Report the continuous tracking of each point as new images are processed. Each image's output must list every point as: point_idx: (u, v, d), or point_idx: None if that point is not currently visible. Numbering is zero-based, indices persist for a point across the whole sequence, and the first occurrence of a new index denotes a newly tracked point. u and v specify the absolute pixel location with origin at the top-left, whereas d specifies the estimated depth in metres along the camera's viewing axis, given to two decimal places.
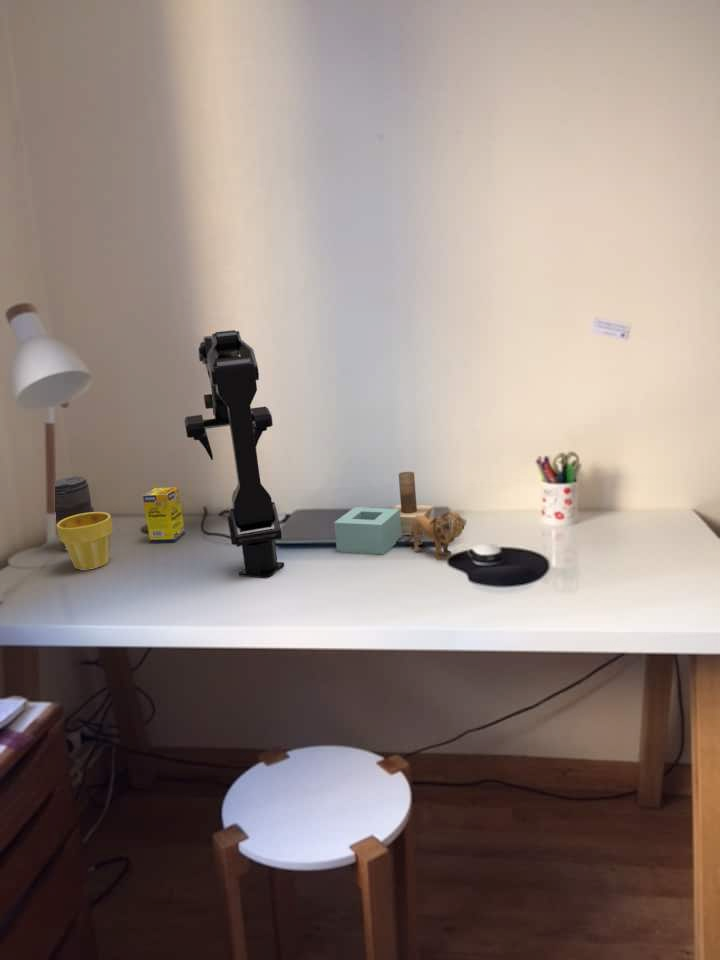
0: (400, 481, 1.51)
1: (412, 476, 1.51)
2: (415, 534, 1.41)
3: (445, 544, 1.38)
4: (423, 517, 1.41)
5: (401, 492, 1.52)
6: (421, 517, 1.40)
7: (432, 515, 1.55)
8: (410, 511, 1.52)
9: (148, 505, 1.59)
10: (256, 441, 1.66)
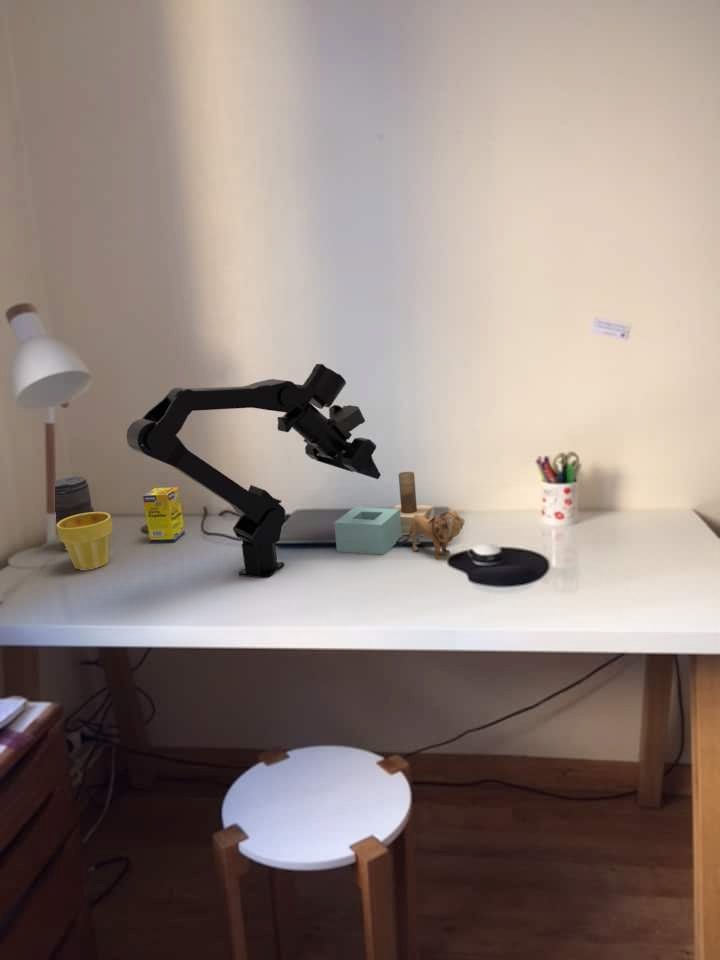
0: (400, 481, 1.51)
1: (412, 476, 1.51)
2: (413, 534, 1.41)
3: (443, 543, 1.39)
4: (421, 517, 1.41)
5: (401, 492, 1.52)
6: (419, 517, 1.41)
7: (432, 515, 1.55)
8: (410, 511, 1.52)
9: (148, 505, 1.59)
10: (364, 474, 1.42)
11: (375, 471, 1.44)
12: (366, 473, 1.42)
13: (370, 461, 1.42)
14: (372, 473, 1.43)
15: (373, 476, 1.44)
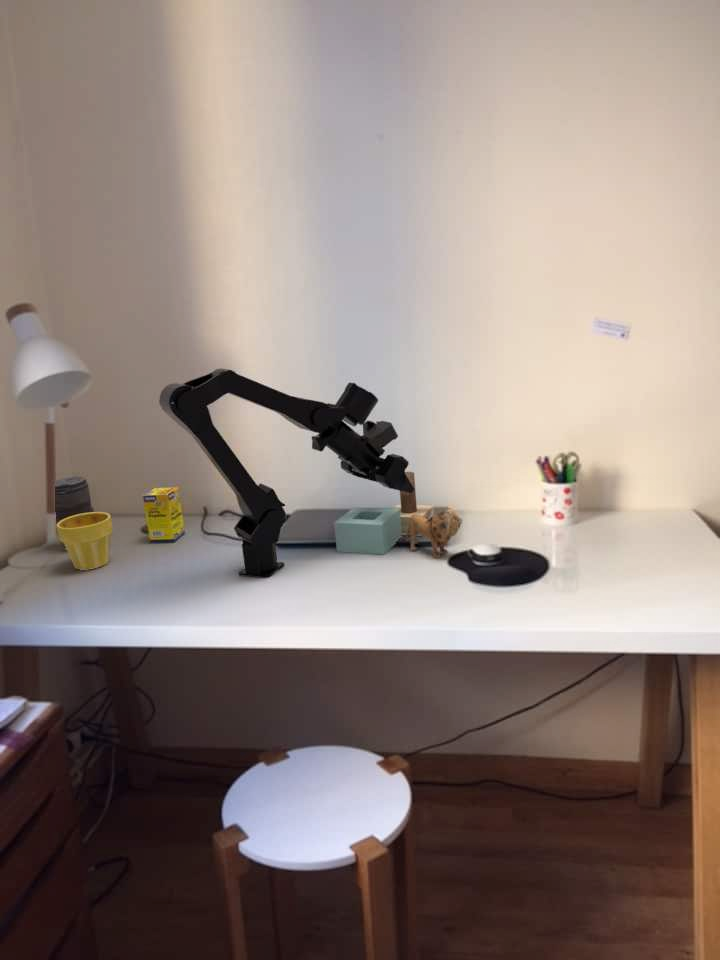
0: None
1: (412, 476, 1.51)
2: (411, 533, 1.42)
3: (441, 543, 1.39)
4: (419, 516, 1.41)
5: (401, 492, 1.52)
6: (417, 516, 1.41)
7: (432, 515, 1.55)
8: (410, 511, 1.52)
9: (148, 505, 1.59)
10: None
11: (409, 486, 1.46)
12: (400, 488, 1.44)
13: (403, 476, 1.44)
14: (406, 488, 1.46)
15: (407, 491, 1.46)
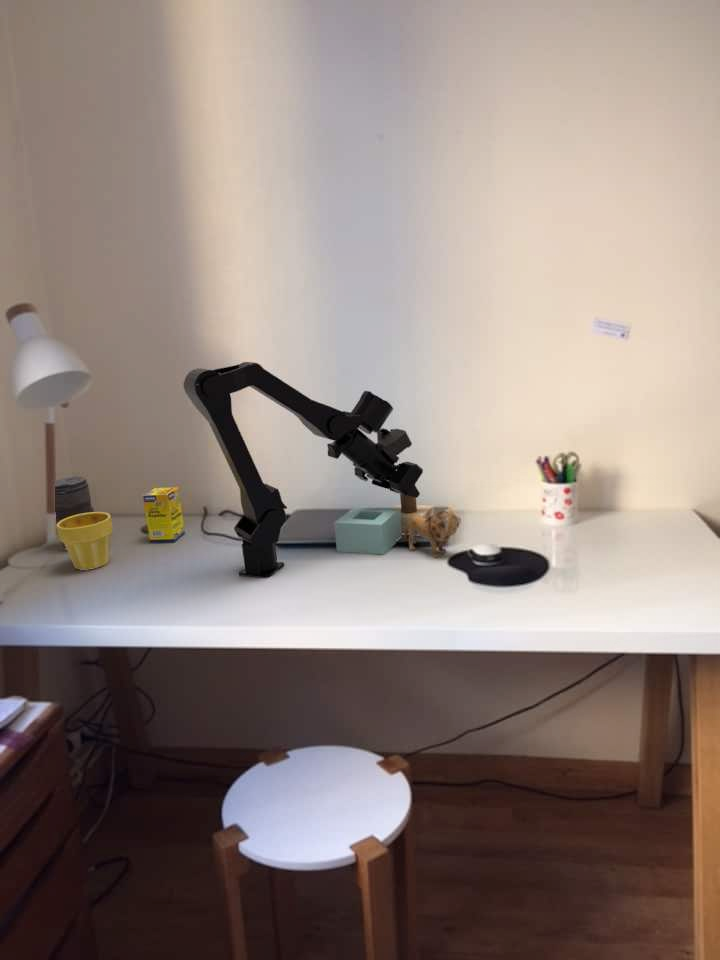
0: None
1: None
2: (410, 533, 1.42)
3: (440, 542, 1.39)
4: (418, 516, 1.42)
5: None
6: (416, 516, 1.42)
7: None
8: (410, 511, 1.52)
9: (148, 505, 1.59)
10: None
11: (414, 490, 1.50)
12: None
13: None
14: (411, 492, 1.50)
15: (412, 495, 1.51)
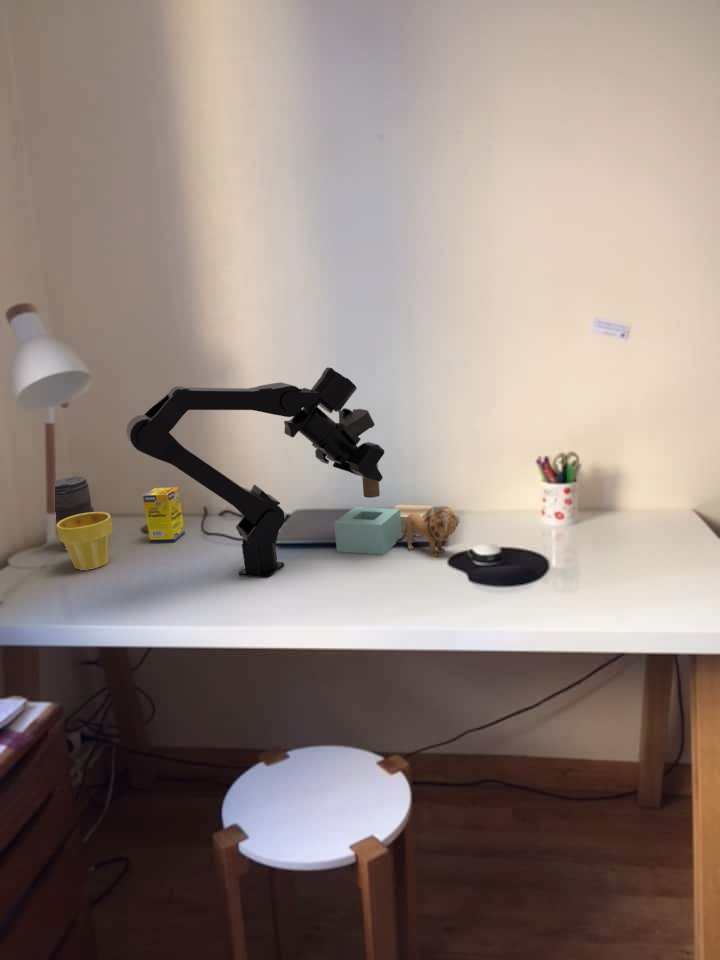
0: None
1: None
2: (409, 532, 1.42)
3: (439, 542, 1.40)
4: (416, 515, 1.42)
5: None
6: (414, 515, 1.42)
7: None
8: (372, 495, 1.45)
9: (148, 505, 1.59)
10: (365, 477, 1.42)
11: (377, 473, 1.43)
12: (367, 476, 1.42)
13: None
14: (374, 475, 1.43)
15: (375, 478, 1.44)
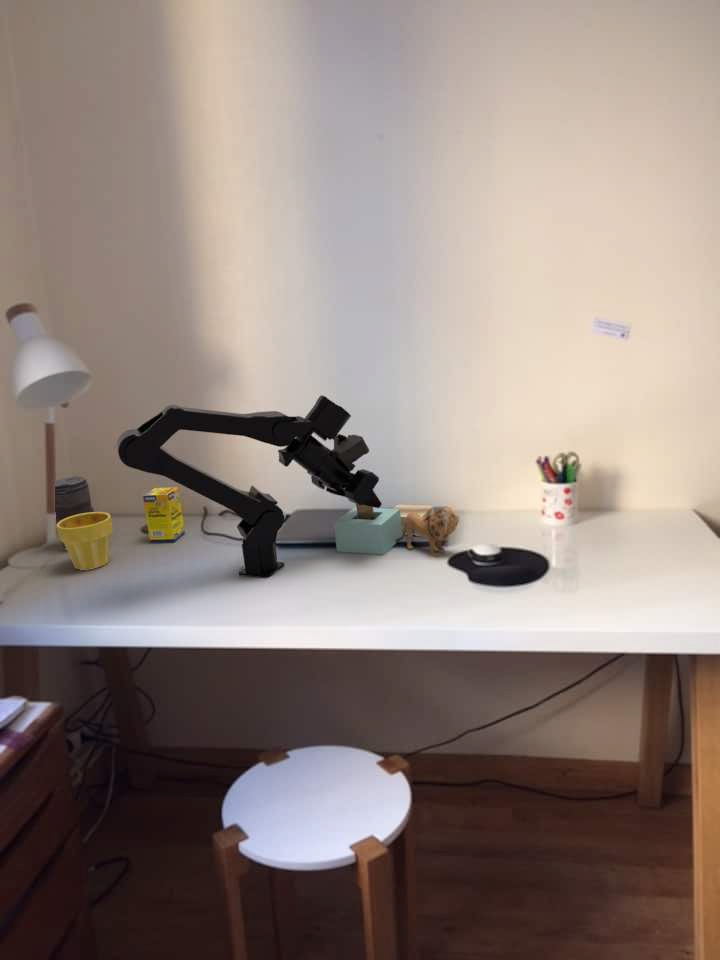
0: None
1: None
2: (408, 532, 1.43)
3: (438, 541, 1.40)
4: (416, 515, 1.42)
5: (358, 510, 1.45)
6: (414, 515, 1.42)
7: None
8: None
9: (148, 505, 1.59)
10: (364, 504, 1.41)
11: (375, 500, 1.42)
12: (366, 503, 1.41)
13: None
14: (372, 503, 1.42)
15: (374, 505, 1.43)
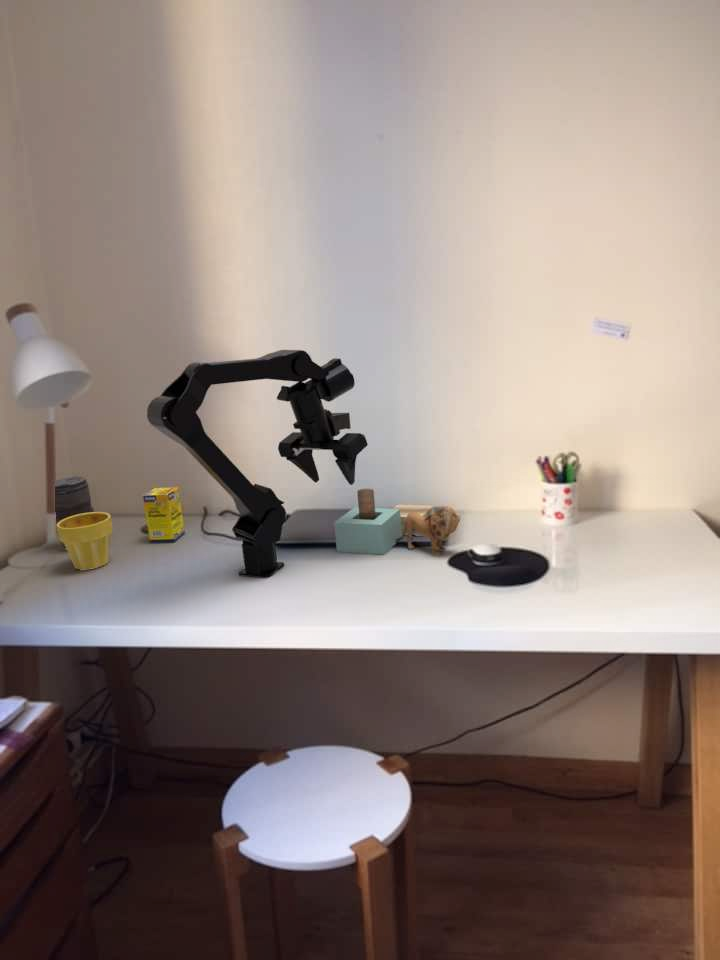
0: (359, 498, 1.45)
1: (371, 493, 1.44)
2: (409, 532, 1.43)
3: (439, 540, 1.41)
4: (416, 515, 1.42)
5: (360, 510, 1.45)
6: (414, 515, 1.42)
7: None
8: None
9: (148, 505, 1.59)
10: (344, 472, 1.41)
11: (352, 475, 1.43)
12: (347, 471, 1.41)
13: (353, 461, 1.42)
14: (350, 475, 1.43)
15: (350, 479, 1.43)
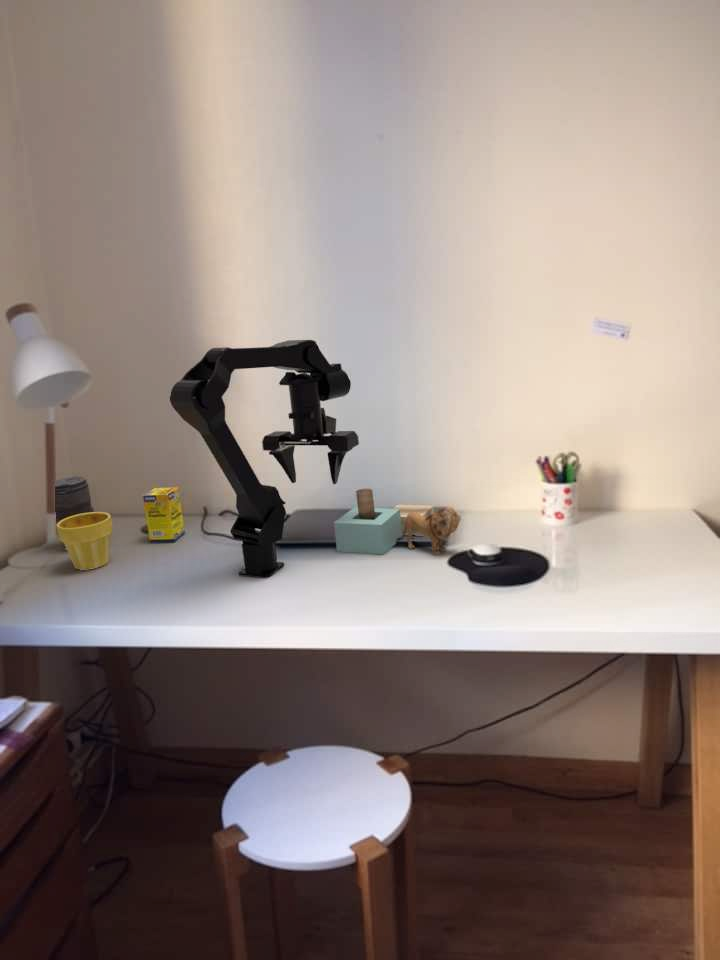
0: (358, 499, 1.45)
1: (370, 493, 1.44)
2: (409, 531, 1.43)
3: (440, 540, 1.41)
4: (417, 514, 1.43)
5: (359, 510, 1.45)
6: (415, 514, 1.42)
7: None
8: None
9: (148, 505, 1.59)
10: (333, 468, 1.42)
11: (337, 474, 1.45)
12: (335, 467, 1.42)
13: (341, 460, 1.44)
14: (336, 473, 1.44)
15: (335, 477, 1.44)
